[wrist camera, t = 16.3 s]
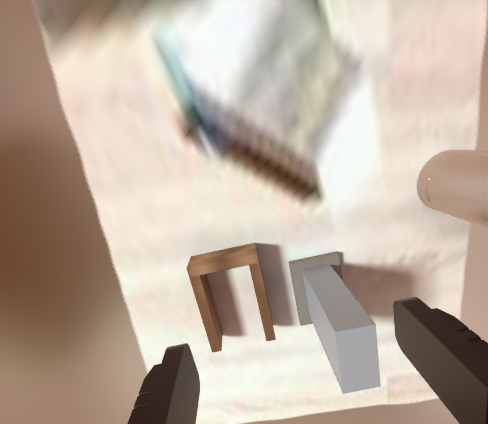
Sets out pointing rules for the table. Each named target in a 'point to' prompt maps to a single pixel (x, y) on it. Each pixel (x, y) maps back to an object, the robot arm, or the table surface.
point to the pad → (299, 283)
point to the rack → (202, 292)
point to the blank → (343, 329)
